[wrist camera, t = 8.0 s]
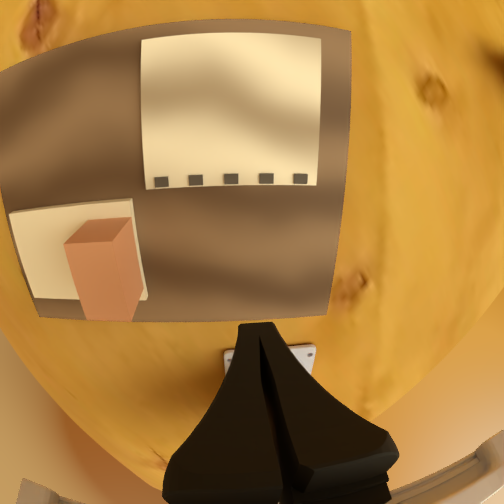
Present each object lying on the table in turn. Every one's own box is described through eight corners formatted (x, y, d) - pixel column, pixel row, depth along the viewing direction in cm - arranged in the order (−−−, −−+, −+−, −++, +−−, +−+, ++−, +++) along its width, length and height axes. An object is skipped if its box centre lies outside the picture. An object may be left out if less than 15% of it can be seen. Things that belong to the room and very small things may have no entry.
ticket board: (322, 305, 23) (327, 318, 22) (45, 308, 21) (37, 319, 20) (343, 35, 14) (353, 29, 13) (3, 75, 12) (-11, 75, 11)
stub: (148, 295, 20) (135, 334, 16) (37, 293, 19) (14, 324, 15) (132, 198, 17) (108, 222, 13) (13, 211, 16) (-21, 234, 12)
